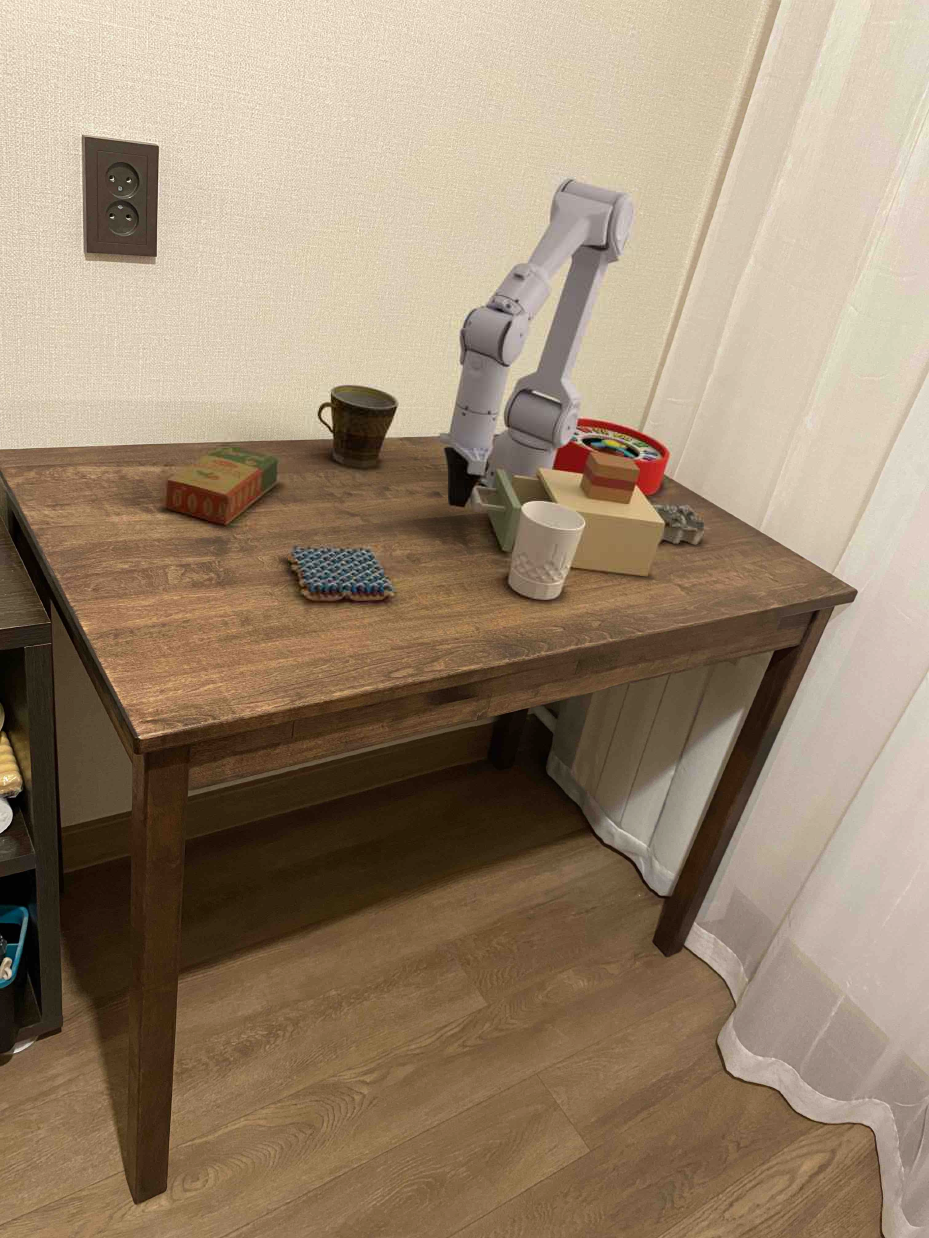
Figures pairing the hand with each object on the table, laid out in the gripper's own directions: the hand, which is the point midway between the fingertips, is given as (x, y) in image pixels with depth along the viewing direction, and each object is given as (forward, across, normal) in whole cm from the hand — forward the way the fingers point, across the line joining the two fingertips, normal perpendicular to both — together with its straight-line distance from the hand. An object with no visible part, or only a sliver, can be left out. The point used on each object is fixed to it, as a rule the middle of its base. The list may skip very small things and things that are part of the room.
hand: (456, 504), depth 122 cm
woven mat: (+4, +18, -16) cm, 24 cm away
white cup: (+4, +14, +9) cm, 17 cm away
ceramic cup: (+4, -20, -14) cm, 25 cm away
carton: (+4, -1, -30) cm, 30 cm away
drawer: (+3, 0, +10) cm, 11 cm away
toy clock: (+4, -32, +32) cm, 45 cm away
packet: (-4, 0, +20) cm, 20 cm away
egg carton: (+4, -9, +35) cm, 36 cm away
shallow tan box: (+4, 0, +19) cm, 20 cm away
